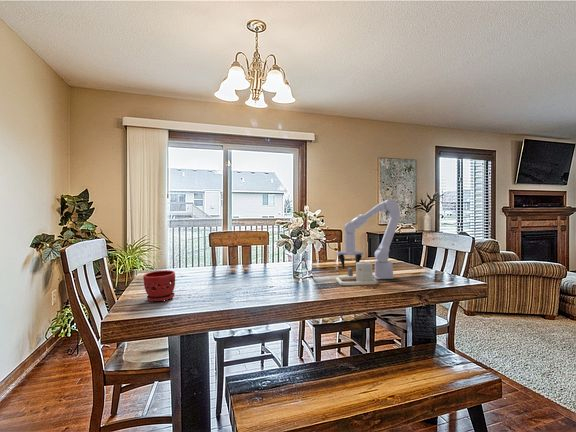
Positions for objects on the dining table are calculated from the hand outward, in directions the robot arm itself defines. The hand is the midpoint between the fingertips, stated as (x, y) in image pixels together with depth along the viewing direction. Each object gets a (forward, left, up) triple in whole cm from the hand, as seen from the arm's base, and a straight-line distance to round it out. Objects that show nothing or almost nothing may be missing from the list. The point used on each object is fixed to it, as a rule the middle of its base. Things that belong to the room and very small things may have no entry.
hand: (350, 267), depth 184 cm
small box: (-4, +13, -6) cm, 15 cm away
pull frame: (0, +8, -5) cm, 10 cm away
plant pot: (+95, +32, -6) cm, 100 cm away
